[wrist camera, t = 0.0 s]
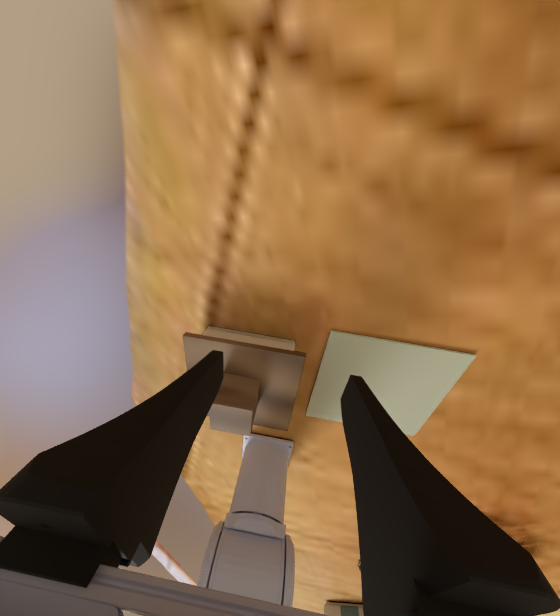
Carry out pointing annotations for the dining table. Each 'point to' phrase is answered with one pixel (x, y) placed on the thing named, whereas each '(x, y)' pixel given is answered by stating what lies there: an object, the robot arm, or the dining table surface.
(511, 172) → the dining table surface
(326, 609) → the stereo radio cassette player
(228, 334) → the white square tray
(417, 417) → the beige flat square piece
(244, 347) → the lid
